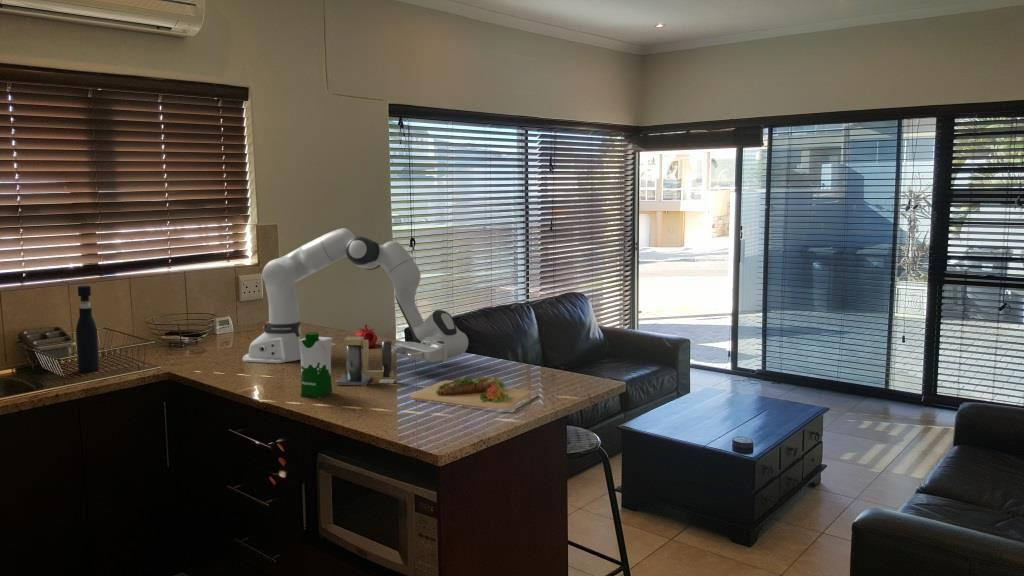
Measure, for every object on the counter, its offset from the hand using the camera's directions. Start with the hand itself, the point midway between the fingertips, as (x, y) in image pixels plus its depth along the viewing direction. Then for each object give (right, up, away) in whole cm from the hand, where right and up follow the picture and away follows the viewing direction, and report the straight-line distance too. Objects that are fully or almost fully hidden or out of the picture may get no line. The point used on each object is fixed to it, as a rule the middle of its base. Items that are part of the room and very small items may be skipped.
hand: (400, 354), depth 258 cm
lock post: (-11, -9, +1) cm, 14 cm away
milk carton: (-24, -11, -20) cm, 33 cm away
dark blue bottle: (-112, -7, +7) cm, 112 cm away
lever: (-10, -7, -4) cm, 13 cm away
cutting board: (+27, -13, -21) cm, 36 cm away
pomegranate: (-23, -2, +56) cm, 60 cm away
